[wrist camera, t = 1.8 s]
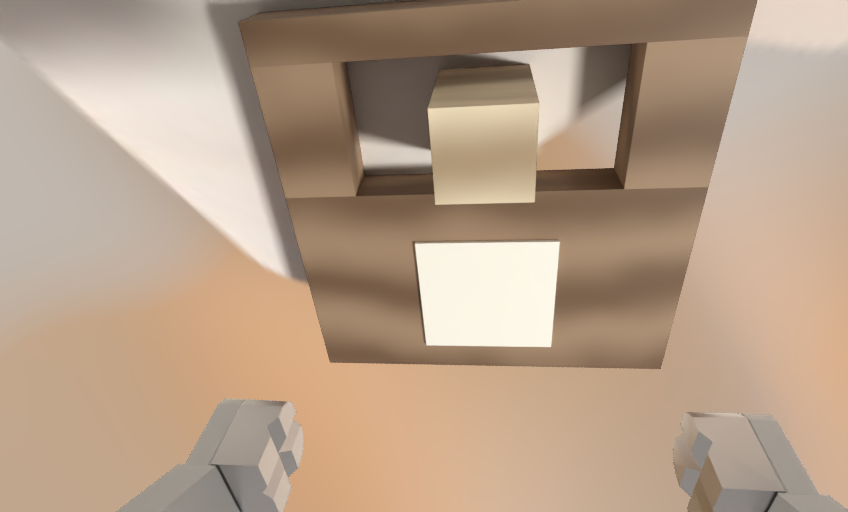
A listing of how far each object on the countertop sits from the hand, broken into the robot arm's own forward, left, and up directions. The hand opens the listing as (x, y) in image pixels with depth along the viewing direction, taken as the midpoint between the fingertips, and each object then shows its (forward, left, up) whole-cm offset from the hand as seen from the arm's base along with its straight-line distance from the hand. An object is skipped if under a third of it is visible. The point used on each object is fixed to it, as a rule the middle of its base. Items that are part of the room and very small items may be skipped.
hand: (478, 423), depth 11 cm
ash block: (0, 0, -20) cm, 20 cm away
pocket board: (+5, 0, -19) cm, 20 cm away
